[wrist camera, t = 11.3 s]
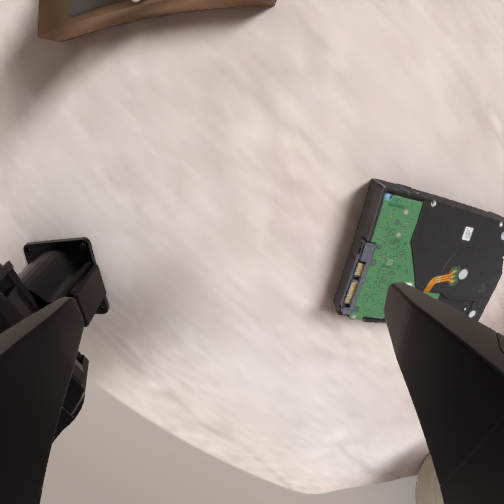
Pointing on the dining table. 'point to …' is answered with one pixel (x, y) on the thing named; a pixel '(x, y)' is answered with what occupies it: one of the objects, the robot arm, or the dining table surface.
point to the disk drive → (420, 252)
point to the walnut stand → (116, 13)
